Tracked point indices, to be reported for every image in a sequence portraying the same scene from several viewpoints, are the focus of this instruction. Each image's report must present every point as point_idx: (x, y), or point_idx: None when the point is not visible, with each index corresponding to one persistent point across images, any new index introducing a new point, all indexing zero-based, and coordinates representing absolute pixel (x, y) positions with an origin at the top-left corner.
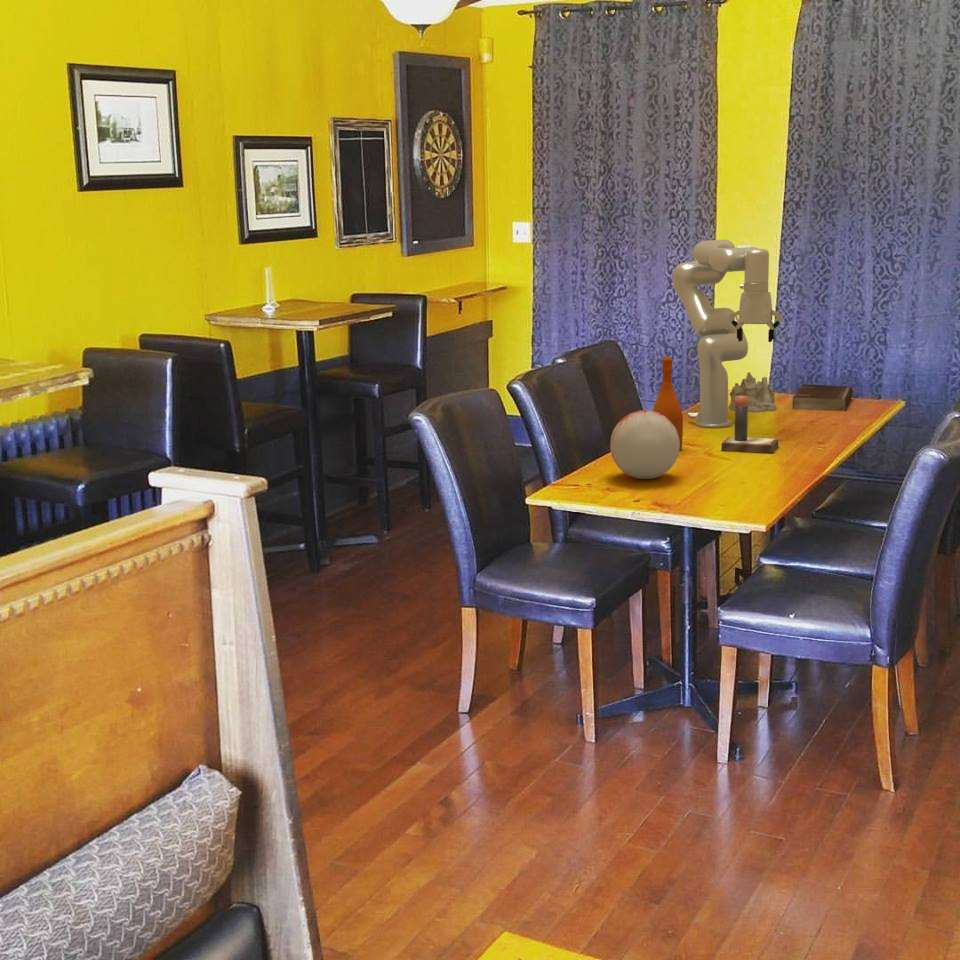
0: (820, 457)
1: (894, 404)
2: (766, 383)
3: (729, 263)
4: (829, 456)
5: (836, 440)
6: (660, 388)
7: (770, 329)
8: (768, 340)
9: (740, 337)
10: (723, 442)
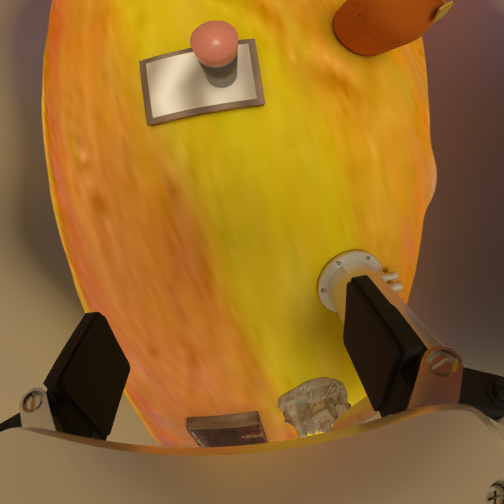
0: (63, 90)
1: (158, 442)
2: (297, 429)
3: None
4: (53, 106)
5: (86, 237)
6: (449, 2)
7: (61, 401)
8: (97, 319)
9: (362, 298)
10: (253, 47)
